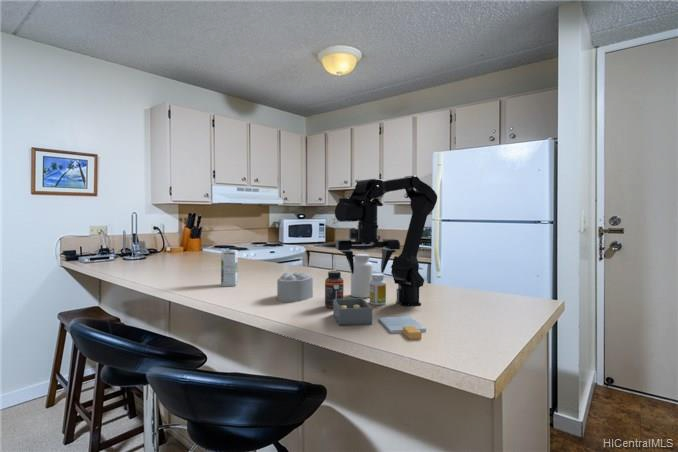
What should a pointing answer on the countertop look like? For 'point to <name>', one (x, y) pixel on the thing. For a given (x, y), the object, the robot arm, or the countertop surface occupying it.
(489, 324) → the countertop surface
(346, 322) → the tub
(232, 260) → the syrup box
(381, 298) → the supplement bottle
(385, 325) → the lid
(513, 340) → the countertop surface
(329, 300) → the supplement bottle
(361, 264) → the pill bottle
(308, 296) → the lumpy-topped squat cylinder
